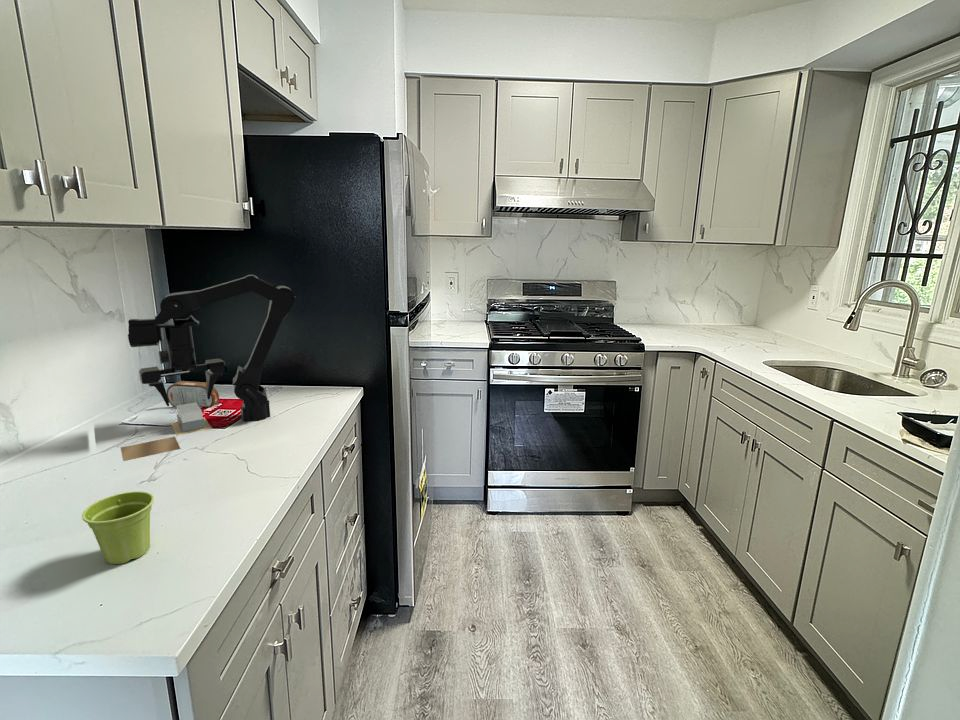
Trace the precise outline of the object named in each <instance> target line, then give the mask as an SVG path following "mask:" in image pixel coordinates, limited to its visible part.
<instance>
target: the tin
mask: <svg viewBox="0 0 960 720" xmlns="http://www.w3.org/2000/svg"><path fill="white" fill-rule="evenodd" d="M218 391H219V390H217V389H216V387H215V386H214V387H213V390H212V393H211V396H210V399H207V394H206V381H205V382H203V381H201V382H200V381H188V380H186V381H185V380H178V381H175V382H174V383H173V384H171V385H169V386H168V387H167V389H166V394H167V397H168V400H169V405H171V406H172V407H177V406H178V405H184V404H190V403H197V404H198V406H199V407H209V408H212V407H215V406H216V405H218V404H219V401H220V394H219V392H218Z"/></svg>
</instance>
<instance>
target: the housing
mask: <svg viewBox="0 0 960 720" xmlns="http://www.w3.org/2000/svg"><path fill="white" fill-rule="evenodd" d="M176 412H177V414H176V419H177V422H178V425H179V426H180V428H181V430H182V432H183V433H185V432H190V431H195V430H200V429H205V425H204V419H203V409H201V406H198V404H197V403H190V404H184V405H178V406H176Z"/></svg>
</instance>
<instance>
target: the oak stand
mask: <svg viewBox="0 0 960 720" xmlns="http://www.w3.org/2000/svg"><path fill="white" fill-rule="evenodd" d="M202 417H203V416H202ZM203 419H204V425H205V429H200V430H195V431H190V432H185V433H183V432H182V430H181V428H180V426H179V425H178V421H177V422H172V423H170V425H171V428H172V429H173V431H174V433H175V435H176V436H181V435H187V434H191V433H196V432H201V431H207V430H211V429H213V427H212V426H211V425H210V423H209V422H208V420H207V419H206V418H205V416H204V417H203Z"/></svg>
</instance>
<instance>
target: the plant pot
mask: <svg viewBox="0 0 960 720" xmlns="http://www.w3.org/2000/svg"><path fill="white" fill-rule="evenodd" d="M154 501H155V497H154V495H153V493H150V492H148V491H144V490H143V491H134V490H133V491H125V492H121V493H116V494H113V495H109V496H107V497H104V498H102V499H99V500H98V501H95V502H94V503H92V504H91V505H89V506H88V507H86V508H85V509H84V510H83V512H82V513H81V519H82V521H83V522H85V523H87V525H88V527H89V528H90V529H91V531H92V532H93V535H94V538H95V540H96V542H97V544H98V546H99V547H98V548H99V550H100V552H101V555H102V557H103V558H104V559H103V560H104V561H105V562H106V563H107V564H110V565H118V564H125V563H128V562H129V561H131V560H132V559H138V558H141V557H142V556H144V555H145V554H146V553H147V552H148V551H149V549H150V548H151V511H152V506H153V503H154Z"/></svg>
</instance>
